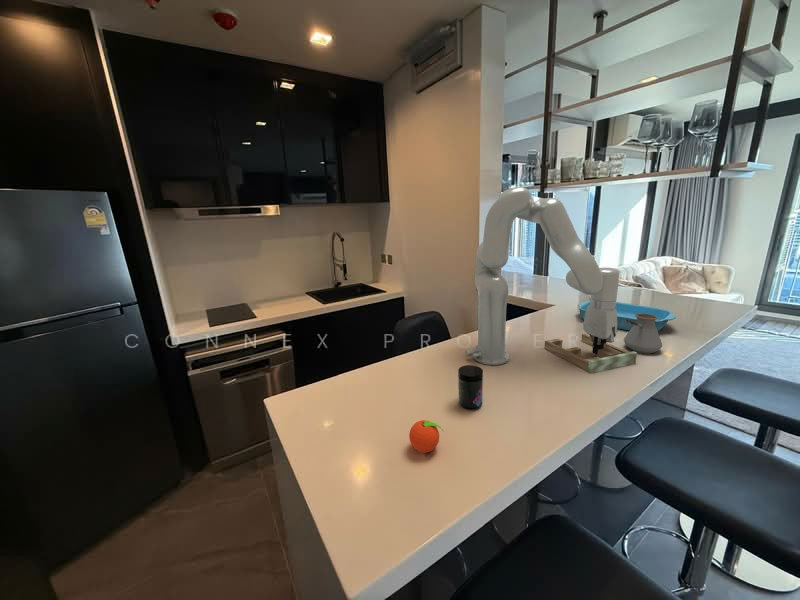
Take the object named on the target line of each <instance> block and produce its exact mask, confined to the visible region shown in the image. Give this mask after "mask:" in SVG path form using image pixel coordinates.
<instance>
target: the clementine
mask: <svg viewBox="0 0 800 600" xmlns="http://www.w3.org/2000/svg"><path fill="white" fill-rule="evenodd" d="M438 428H440V429H441V431H442V432H444V430H443V428H442V427H441V426H440V425H439V424H437V423H435V422H433V421H430V420H426V419H425V420H424V419H423V420H418V421H416V422H415V423H414V424H413V425H412V426H411V427H410V430H409V433H408V434H409V435H408V437H409V438H408V439H409V442H410V445H412V447H413V448H414V449H415V450H416V451H417V452H419V453H431V452H432V451H433V450H435V449H436V448H437V446H438V444H439V441H440V433H439V429H438Z"/></svg>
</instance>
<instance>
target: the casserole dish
mask: <svg viewBox="0 0 800 600" xmlns="http://www.w3.org/2000/svg"><path fill="white" fill-rule="evenodd" d="M589 305H590V301H589V300H587V301H582V302H579V303H578V304H577V306H578V310H579V313H580V316H581V318H582V319H583V320H584V319H585V314H586V310H587V308H588V306H589ZM615 310H617V330H624V331H628V332H629V331H630V330H631V328H632V327H633V326H634V325H633V324H631V323H630V324H629V323H628V322H627V321H626V319H630V320H631V321H635V322H636V321H637V317H636V316H635V314H650V315H654V316H656V317H657V318H658V319H656V321H655V326H656V328H657V331H658V332H659V331H660V330H662V329H663V328H664V327H665V326H666V325H667V323H668V322H669V321H673V320H675V319H676V318H677V316H676V315H675V314H674V313H673V312H672V311H671V310H669V309H664V308H659V307H654V306H647V305H640V304H633V303H626V302H618V301H616V308H615ZM623 320H624V321H623ZM622 321H623V323H622ZM628 324H629V325H628Z"/></svg>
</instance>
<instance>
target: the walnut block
mask: <svg viewBox="0 0 800 600" xmlns="http://www.w3.org/2000/svg"><path fill="white" fill-rule="evenodd" d="M619 354H622V352H619V351H617V350H615V349H612V348H610V347H608V348H603V349H598V353H597V355H596V357H599V358H604V357H609V356H614V355H619Z"/></svg>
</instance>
